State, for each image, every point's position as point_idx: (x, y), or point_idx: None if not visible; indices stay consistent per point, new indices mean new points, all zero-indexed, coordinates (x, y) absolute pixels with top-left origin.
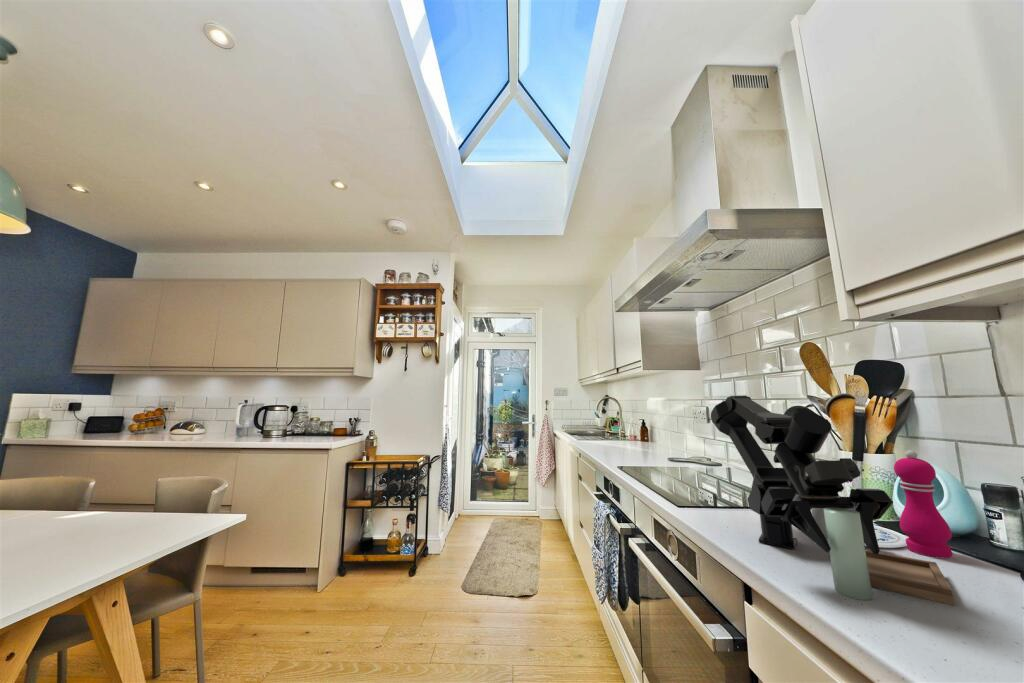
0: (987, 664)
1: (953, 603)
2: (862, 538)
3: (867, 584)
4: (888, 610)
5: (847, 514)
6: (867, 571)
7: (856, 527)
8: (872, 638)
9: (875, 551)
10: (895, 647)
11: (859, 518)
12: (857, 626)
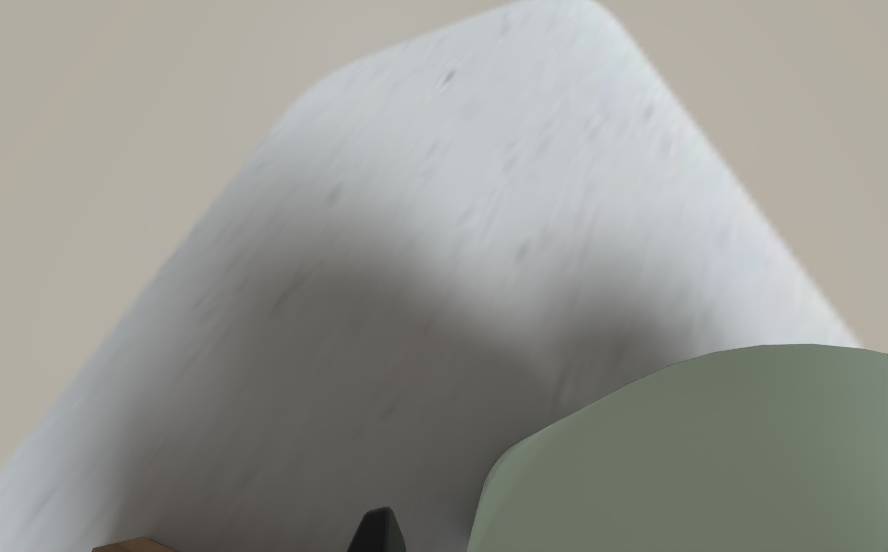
0: (351, 95)
1: (141, 540)
2: (499, 473)
3: (510, 448)
4: (469, 358)
5: (776, 373)
6: (496, 465)
7: (576, 411)
8: (608, 110)
9: (396, 523)
10: (558, 86)
11: (503, 489)
12: (634, 170)
